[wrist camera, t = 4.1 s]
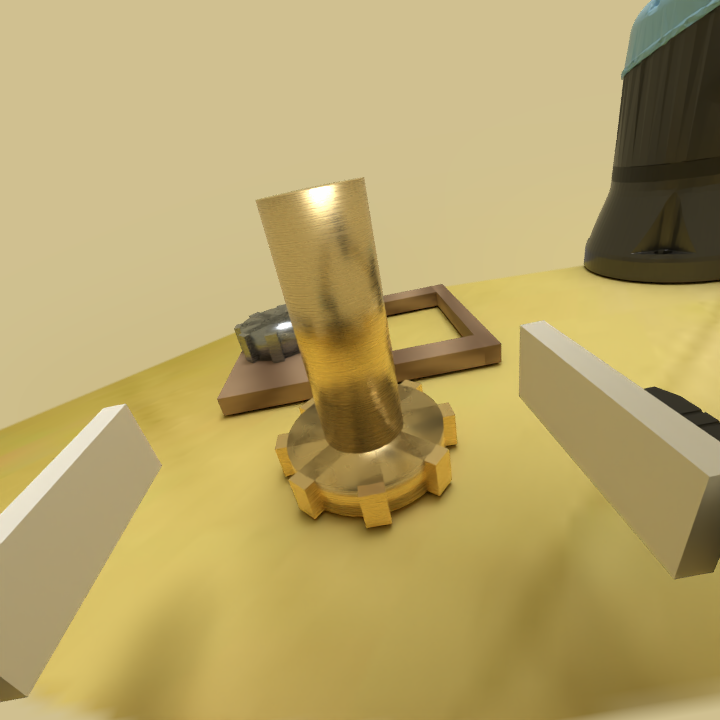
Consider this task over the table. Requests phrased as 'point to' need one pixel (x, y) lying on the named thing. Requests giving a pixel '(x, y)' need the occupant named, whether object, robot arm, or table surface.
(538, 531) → the table surface
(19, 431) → the table surface
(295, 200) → the planet gear
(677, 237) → the robot arm
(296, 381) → the plate
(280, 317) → the sun gear
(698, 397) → the table surface
